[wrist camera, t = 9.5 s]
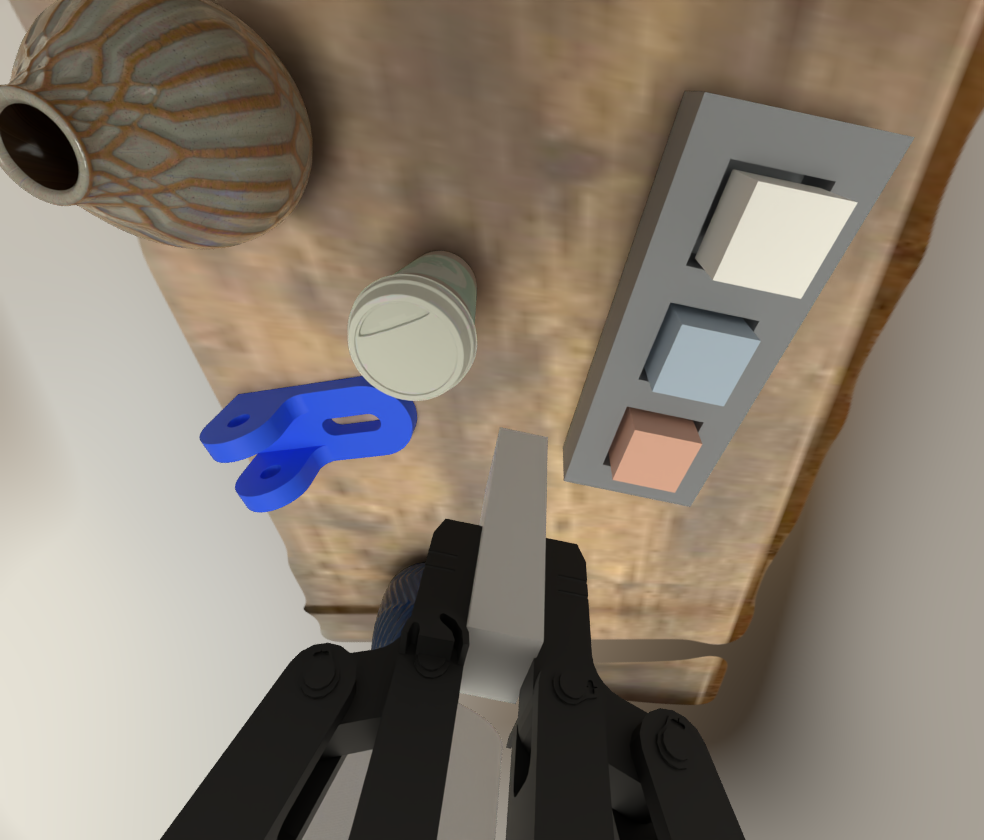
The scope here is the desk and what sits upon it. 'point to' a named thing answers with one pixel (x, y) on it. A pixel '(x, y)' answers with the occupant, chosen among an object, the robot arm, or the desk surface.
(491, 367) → the desk surface
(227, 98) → the vase
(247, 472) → the bracket
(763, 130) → the grey socket block
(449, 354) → the coffee cup
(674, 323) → the slate key
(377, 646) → the lamp
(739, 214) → the white key
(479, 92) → the desk surface
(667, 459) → the terracotta key
